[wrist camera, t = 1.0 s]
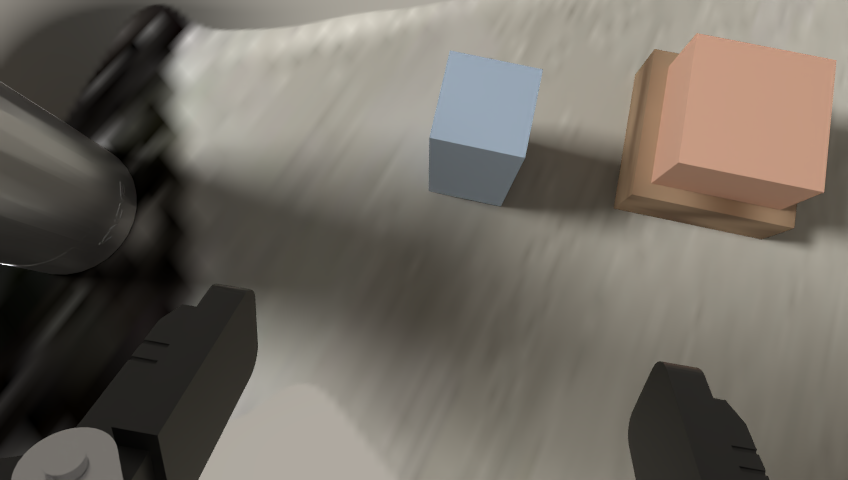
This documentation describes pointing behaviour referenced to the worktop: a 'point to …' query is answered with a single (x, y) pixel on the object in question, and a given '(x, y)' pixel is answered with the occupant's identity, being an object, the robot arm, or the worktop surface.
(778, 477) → the worktop surface
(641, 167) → the walnut base block
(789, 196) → the terracotta top block
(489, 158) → the slate blue block
